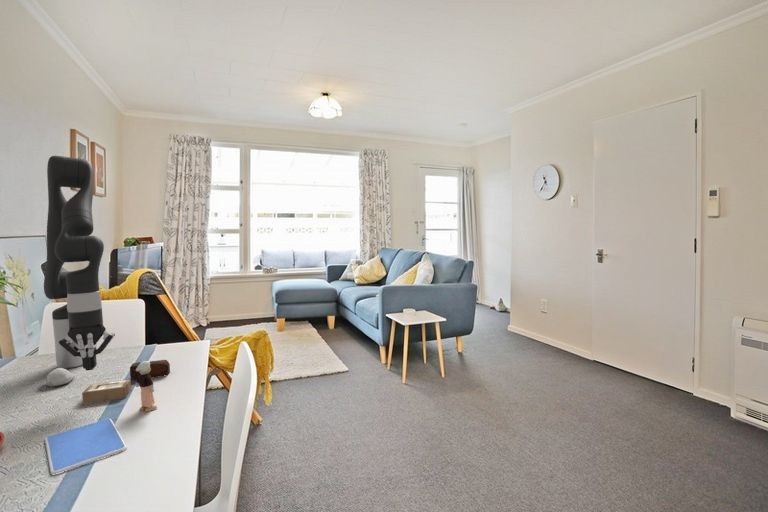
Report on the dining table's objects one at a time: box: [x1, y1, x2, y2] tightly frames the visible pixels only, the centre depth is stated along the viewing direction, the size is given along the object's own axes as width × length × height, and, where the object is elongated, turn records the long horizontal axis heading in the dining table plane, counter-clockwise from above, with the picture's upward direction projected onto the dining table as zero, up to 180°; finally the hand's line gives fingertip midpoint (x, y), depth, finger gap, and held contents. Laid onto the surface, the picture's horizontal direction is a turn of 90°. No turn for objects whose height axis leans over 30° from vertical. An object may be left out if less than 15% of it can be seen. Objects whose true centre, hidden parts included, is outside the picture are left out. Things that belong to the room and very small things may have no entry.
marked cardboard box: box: [81, 378, 132, 405], centre depth 111 cm, size 6×4×10 cm
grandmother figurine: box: [135, 360, 158, 413], centre depth 103 cm, size 8×4×13 cm, turn 71°
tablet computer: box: [44, 418, 128, 475], centre depth 86 cm, size 19×13×1 cm, turn 44°
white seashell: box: [45, 367, 75, 388], centre depth 122 cm, size 9×8×5 cm
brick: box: [129, 359, 171, 381], centre depth 126 cm, size 11×4×5 cm, turn 110°
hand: (90, 369), depth 109 cm, fingers closed
